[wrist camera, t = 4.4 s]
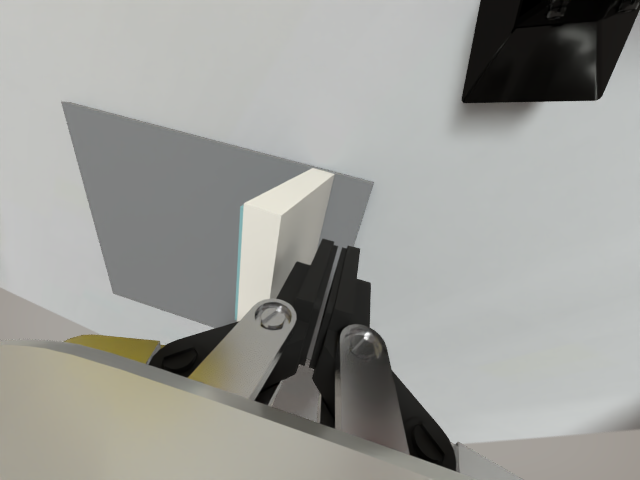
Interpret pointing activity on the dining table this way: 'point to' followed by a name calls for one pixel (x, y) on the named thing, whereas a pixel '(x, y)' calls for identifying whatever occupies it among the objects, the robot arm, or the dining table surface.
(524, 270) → the dining table surface
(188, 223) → the mat
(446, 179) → the dining table surface
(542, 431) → the dining table surface
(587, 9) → the black slotted bracket
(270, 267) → the tile
